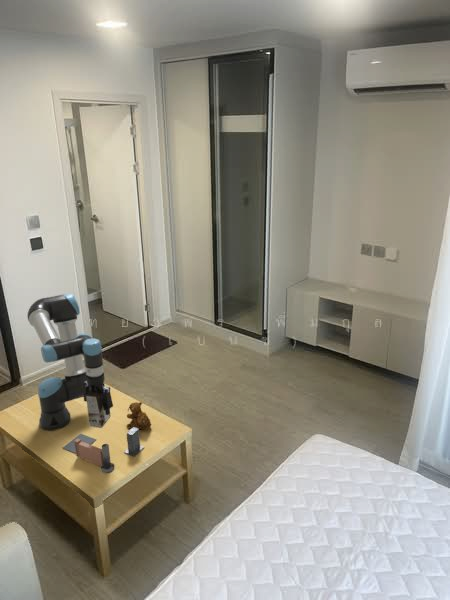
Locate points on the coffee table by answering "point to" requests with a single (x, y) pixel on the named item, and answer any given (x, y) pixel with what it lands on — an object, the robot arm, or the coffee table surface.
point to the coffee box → (95, 409)
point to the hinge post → (106, 460)
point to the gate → (88, 452)
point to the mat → (84, 438)
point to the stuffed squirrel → (138, 417)
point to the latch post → (133, 442)
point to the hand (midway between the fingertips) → (99, 417)
